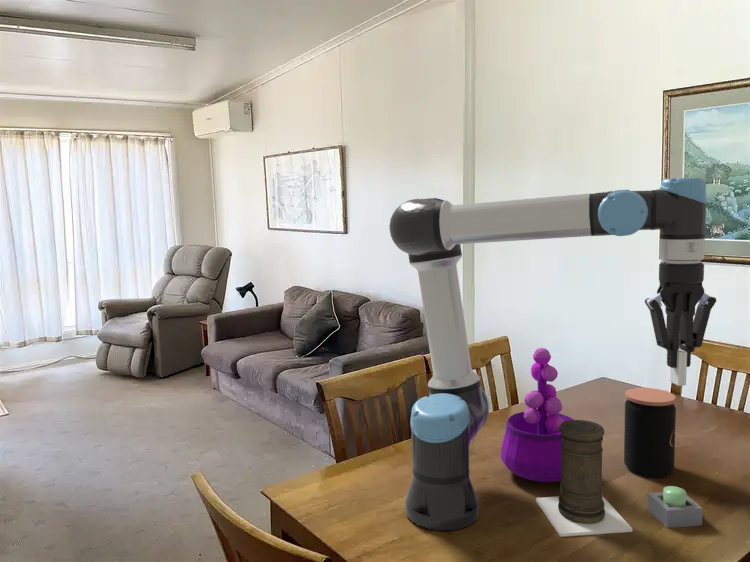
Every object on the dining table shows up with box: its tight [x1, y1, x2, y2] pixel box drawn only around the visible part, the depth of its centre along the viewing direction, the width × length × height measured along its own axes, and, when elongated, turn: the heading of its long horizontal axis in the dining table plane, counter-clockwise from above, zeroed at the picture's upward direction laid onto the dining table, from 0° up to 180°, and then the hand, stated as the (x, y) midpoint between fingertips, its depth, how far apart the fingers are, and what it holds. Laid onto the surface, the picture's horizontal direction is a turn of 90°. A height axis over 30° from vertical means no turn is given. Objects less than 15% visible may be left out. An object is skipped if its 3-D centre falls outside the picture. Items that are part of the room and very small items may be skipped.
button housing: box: [647, 491, 703, 529], centre depth 118 cm, size 7×7×4 cm
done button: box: [662, 485, 687, 507], centre depth 117 cm, size 4×4×4 cm
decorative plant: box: [500, 347, 575, 483], centre depth 137 cm, size 19×18×30 cm
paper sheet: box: [535, 495, 633, 537], centre depth 120 cm, size 14×14×1 cm
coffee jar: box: [623, 387, 677, 479], centre depth 138 cm, size 11×11×18 cm
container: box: [558, 419, 605, 524], centre depth 118 cm, size 9×9×18 cm
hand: (678, 383), depth 114 cm, fingers closed
